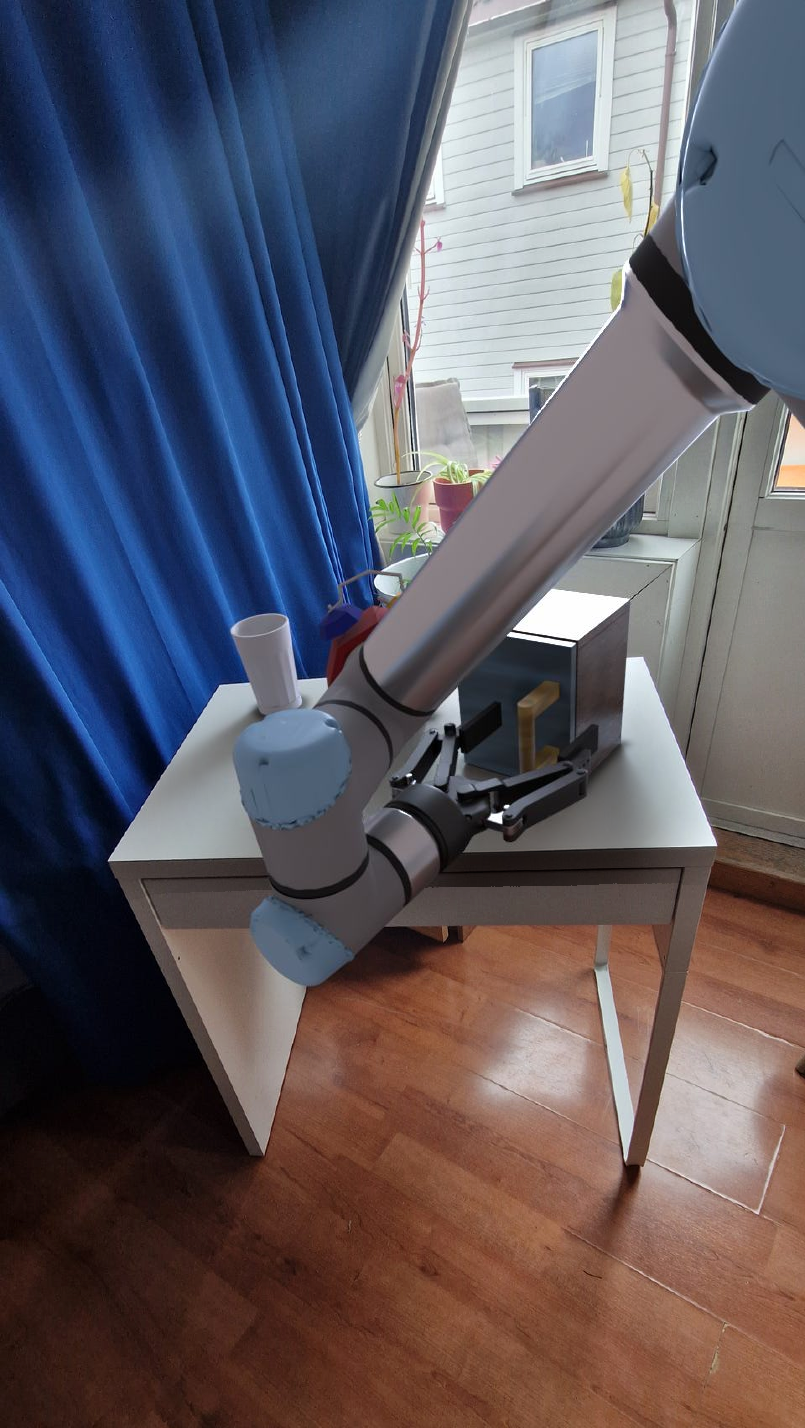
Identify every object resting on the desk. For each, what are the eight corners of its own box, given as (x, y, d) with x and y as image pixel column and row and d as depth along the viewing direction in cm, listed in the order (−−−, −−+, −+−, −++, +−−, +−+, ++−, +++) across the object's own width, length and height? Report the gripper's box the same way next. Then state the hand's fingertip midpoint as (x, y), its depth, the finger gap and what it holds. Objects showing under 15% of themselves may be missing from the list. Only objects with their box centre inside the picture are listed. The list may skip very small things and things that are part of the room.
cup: (312, 690, 107) (293, 611, 100) (301, 716, 101) (281, 634, 94) (261, 694, 109) (239, 616, 101) (247, 720, 103) (223, 639, 95)
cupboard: (574, 789, 79) (578, 640, 68) (470, 758, 87) (458, 620, 76) (621, 742, 85) (630, 599, 74) (519, 718, 93) (515, 584, 82)
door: (541, 821, 75) (539, 672, 65) (435, 786, 83) (417, 648, 72) (573, 789, 79) (576, 643, 68) (469, 758, 87) (457, 623, 76)
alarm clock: (339, 744, 94) (306, 589, 81) (335, 714, 100) (304, 567, 88) (451, 723, 94) (434, 566, 81) (439, 695, 101) (423, 545, 88)
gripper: (322, 836, 70) (456, 732, 82) (526, 923, 57) (649, 784, 69) (305, 771, 65) (450, 670, 77) (524, 849, 52) (656, 714, 64)
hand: (544, 724), depth 73 cm, fingers open, 10 cm apart
